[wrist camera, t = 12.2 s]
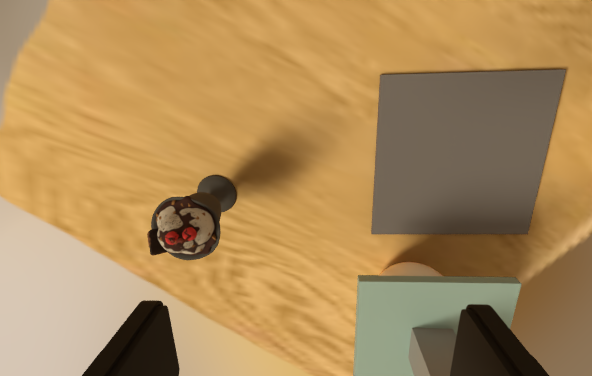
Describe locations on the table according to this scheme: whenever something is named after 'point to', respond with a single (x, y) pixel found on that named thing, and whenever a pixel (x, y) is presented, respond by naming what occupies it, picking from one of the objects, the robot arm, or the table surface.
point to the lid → (420, 320)
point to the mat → (462, 150)
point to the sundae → (191, 220)
